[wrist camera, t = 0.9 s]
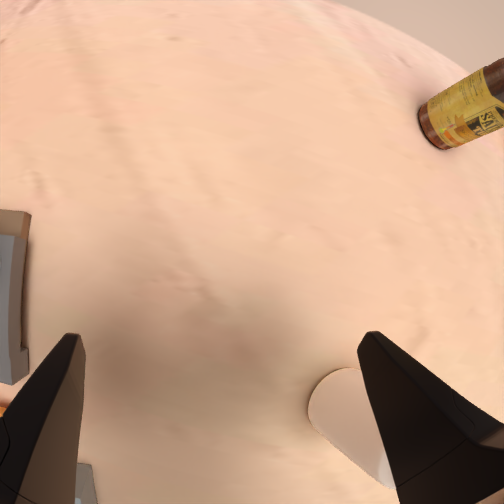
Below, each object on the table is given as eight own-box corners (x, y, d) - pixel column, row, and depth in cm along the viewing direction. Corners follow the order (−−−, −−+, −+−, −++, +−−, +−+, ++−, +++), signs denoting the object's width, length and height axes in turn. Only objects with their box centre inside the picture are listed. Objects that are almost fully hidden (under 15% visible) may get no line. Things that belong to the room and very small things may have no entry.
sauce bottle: (427, 153, 30) (576, 86, 11) (408, 102, 30) (539, 19, 11) (458, 151, 32) (587, 98, 13) (441, 105, 32) (558, 40, 13)
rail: (21, 342, 19) (14, 346, 18) (-14, 334, 18) (-22, 336, 17) (31, 215, 20) (24, 211, 19) (-5, 211, 19) (-12, 208, 18)
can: (295, 389, 24) (384, 454, 13) (359, 353, 26) (465, 385, 14) (318, 445, 24) (398, 516, 13) (376, 409, 26) (469, 455, 15)
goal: (101, 523, 19) (96, 557, 14) (-27, 485, 15) (-45, 508, 10) (91, 465, 19) (80, 498, 14) (-44, 425, 16) (-70, 444, 11)
